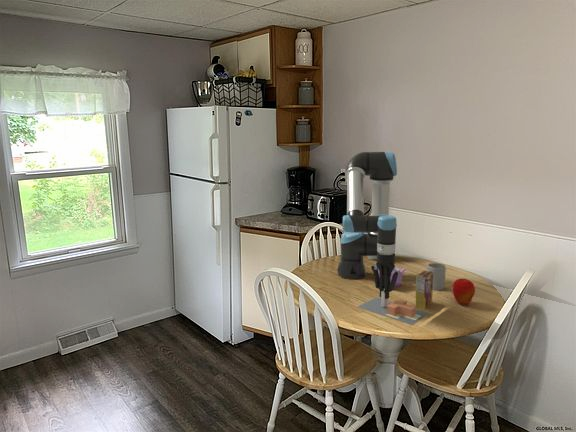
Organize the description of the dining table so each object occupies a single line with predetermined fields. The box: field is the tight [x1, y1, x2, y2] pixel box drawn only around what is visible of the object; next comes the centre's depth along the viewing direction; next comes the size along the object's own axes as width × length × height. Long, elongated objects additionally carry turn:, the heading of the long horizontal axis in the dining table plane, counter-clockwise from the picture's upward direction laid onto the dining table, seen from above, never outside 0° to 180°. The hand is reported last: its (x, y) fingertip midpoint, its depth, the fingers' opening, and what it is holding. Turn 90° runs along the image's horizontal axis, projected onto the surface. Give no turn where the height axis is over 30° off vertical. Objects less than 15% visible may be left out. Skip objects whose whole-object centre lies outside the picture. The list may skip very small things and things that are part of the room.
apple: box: [452, 278, 476, 306], centre depth 197 cm, size 9×9×12 cm
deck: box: [357, 297, 430, 326], centre depth 189 cm, size 26×15×1 cm, turn 47°
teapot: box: [378, 266, 408, 289], centre depth 218 cm, size 18×13×10 cm
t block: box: [387, 298, 417, 318], centre depth 186 cm, size 10×10×4 cm
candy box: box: [415, 269, 434, 310], centre depth 193 cm, size 9×4×15 cm, turn 140°
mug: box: [426, 262, 447, 291], centre depth 218 cm, size 12×8×11 cm
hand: (384, 305), depth 192 cm, fingers closed
